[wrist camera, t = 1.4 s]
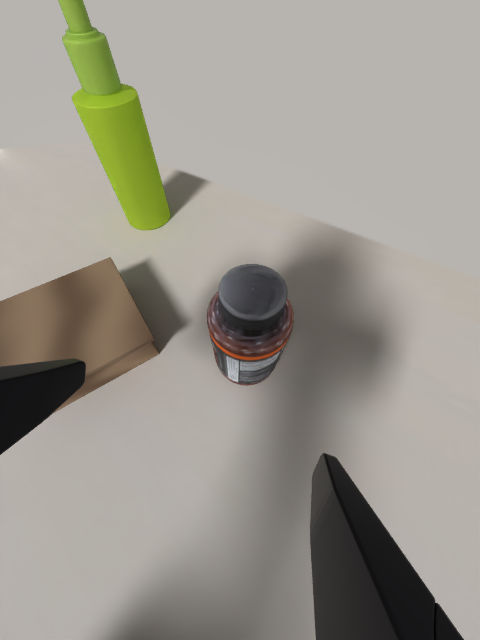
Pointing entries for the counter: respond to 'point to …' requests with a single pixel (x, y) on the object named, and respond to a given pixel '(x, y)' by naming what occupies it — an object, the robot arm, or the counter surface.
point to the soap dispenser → (114, 122)
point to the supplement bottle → (249, 323)
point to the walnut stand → (77, 326)
